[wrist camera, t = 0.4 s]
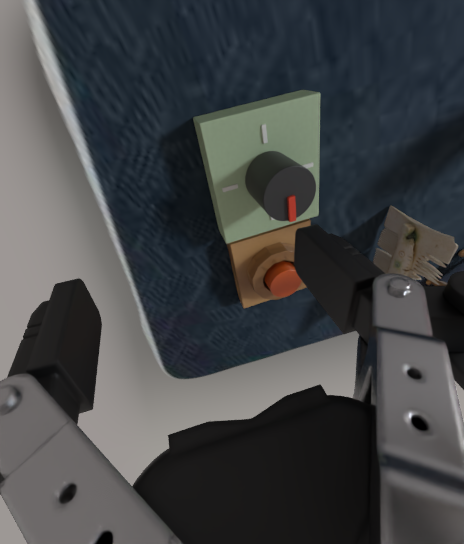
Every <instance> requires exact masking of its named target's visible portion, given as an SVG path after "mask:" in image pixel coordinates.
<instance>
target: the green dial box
mask: <svg viewBox="0 0 464 544" xmlns="http://www.w3.org/2000/svg"><path fill="white" fill-rule="evenodd" d="M193 121H194V125H195V129H196V133H197V138H198V142H199V146H200V151H201V155H202V159H203V163H204V168H205V172H206V176H207V181H208V185H209V189H210V193H211V198H212V202H213V206H214V211H215V215H216V219H217V223H218V228H219V231H220V233H221V235H222V237H223V239H224V240H225V242H226V244H228V243H231V242H234V241H237V240H241V239H244V238H247V237H250V236H254V235H257V234H260V233H263V232H267V231H270V230H273V229H276V228H279V227H283V226H286V225H289V224H292V223H296V222H299V221H302V220H305V219H309V218H312V217H315V216H318V211H319V145H320V93H319V92H313V91H307V90H300V91H296V92H292V93H288V94H284V95H280V96H276V97H272V98H268V99H264V100H260V101H256V102H252V103H248V104H244V105H240V106H236V107H232V108H228V109H224V110H220V111H217V112H213V113H209V114H205V115H201V116H197V117H194V118H193ZM268 151H277V152H280V153H282V154H284V155H285V156H287V157H289V158H290V159H292V160H294V161H295V162H297V163H299V164H300V165H302V166H304V167H305V168H307V169H308V170H309V171H310V172H311V173H312V174H313V176H314V178H315V181H316V194H315V197H314V200H313V202H312V204H311V205H310V207H309V208H308V209H307V210H306V211H305V212H304V213H303V214H302V215H301V216H299V217H297V218H296V221H293V222H289V221H278V220H275V219H273V218H272V217H270V216H269V215H268V214H267V213H266V212H265V210H264V209H263V208H262V207H261V206H260V205H259V204H258V203H257V202H256V200H255V199H254V198H253V197H252V196H251V195H250V194H249V192H248V190H247V188H246V184H245V176H246V172H247V169H248V167H249V165H250V164H251V162H252V161H253V160H254V159H255V158H256V157H257V156H259V155H260V154H262V153H264V152H268Z"/></svg>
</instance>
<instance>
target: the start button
mask: <svg viewBox="0 0 464 544" xmlns="http://www.w3.org/2000/svg"><path fill="white" fill-rule="evenodd" d="M301 281H302V280H301V279H300V278H299V276H298V275H297V273H296V270H295V267H294V266H293V264H291V263H290V262H287V261H281V262H278V263H275V264H274V265H272V266H271V267H270V268H269V269H268V270H267V272H266V274H265V283H266V284H267V286H268V288H269V289H270V291H271V293H272V294H273V295H275V296H277V297H285V296H288V295H291V294H292V293H294V292H295V291H296V290H297V289H298V288H299V286H300V284H301Z"/></svg>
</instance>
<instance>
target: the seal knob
mask: <svg viewBox="0 0 464 544" xmlns="http://www.w3.org/2000/svg"><path fill="white" fill-rule="evenodd" d="M245 184H246V188H247V190H248V192H249V194H250V195H251V196H252V197H253V198H254V199H255V200H256V202H257V203H258V204H259V205H260V206H261V207H262V208H263V209H264V210H265V212H266V213H267V214H268V215H269V216H270V217H272V218H273V219H275V220H278V221H289V222H293V221H296V218H297V217H299V216H301V215H302V214H303V213H304V212H305V211H306V210H307V209H308V208H309V207H310V205H311V204H312V202H313V200H314V197H315V194H316V181H315V178H314V176H313V174H312V173H311V172H310V171H309V170H308V169H307V168H305V167H304V166H302V165H300V164H299V163H297V162H295V161H294V160H292V159H290V158H289V157H287V156H285V155H284V154H282V153H280V152H277V151H268V152H264V153H262V154H260V155H259V156H257V157H256V158H255V159H254V160H253V161H252V162H251V164H250V165H249V167H248V169H247V172H246V176H245Z"/></svg>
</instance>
